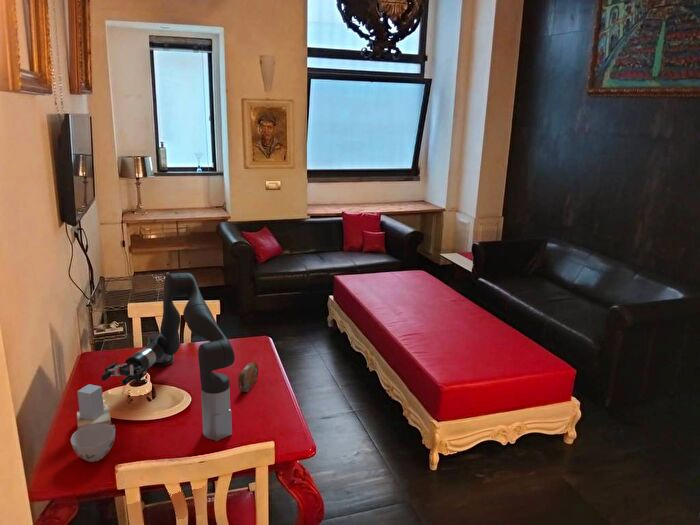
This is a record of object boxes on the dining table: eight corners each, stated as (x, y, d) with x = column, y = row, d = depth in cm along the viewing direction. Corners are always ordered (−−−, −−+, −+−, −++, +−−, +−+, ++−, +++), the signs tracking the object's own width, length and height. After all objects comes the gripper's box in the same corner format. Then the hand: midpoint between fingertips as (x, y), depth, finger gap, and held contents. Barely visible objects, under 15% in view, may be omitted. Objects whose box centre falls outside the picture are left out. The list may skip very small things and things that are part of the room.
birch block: (112, 432, 181) (110, 419, 180) (79, 440, 177) (77, 426, 176) (109, 418, 190) (108, 405, 189) (78, 424, 185) (76, 411, 184)
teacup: (93, 473, 161) (91, 450, 158) (63, 462, 165) (60, 439, 163) (131, 446, 174) (129, 424, 172) (102, 436, 179) (100, 415, 176)
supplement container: (165, 355, 238) (164, 330, 236) (179, 362, 232) (178, 335, 229) (143, 362, 230) (142, 335, 228) (156, 369, 224) (155, 342, 221)
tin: (244, 396, 207) (244, 376, 205) (237, 394, 208) (236, 375, 205) (258, 378, 221) (258, 359, 219) (251, 377, 222) (251, 358, 220)
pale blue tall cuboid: (104, 413, 184) (101, 386, 181) (93, 420, 179) (90, 393, 176) (91, 410, 185) (88, 384, 183) (80, 418, 180) (77, 391, 178)
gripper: (124, 349, 206) (94, 367, 191) (156, 355, 203) (128, 374, 188) (125, 367, 208) (96, 386, 193) (158, 373, 205) (130, 393, 190)
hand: (112, 380), depth 190 cm, fingers open, 8 cm apart
